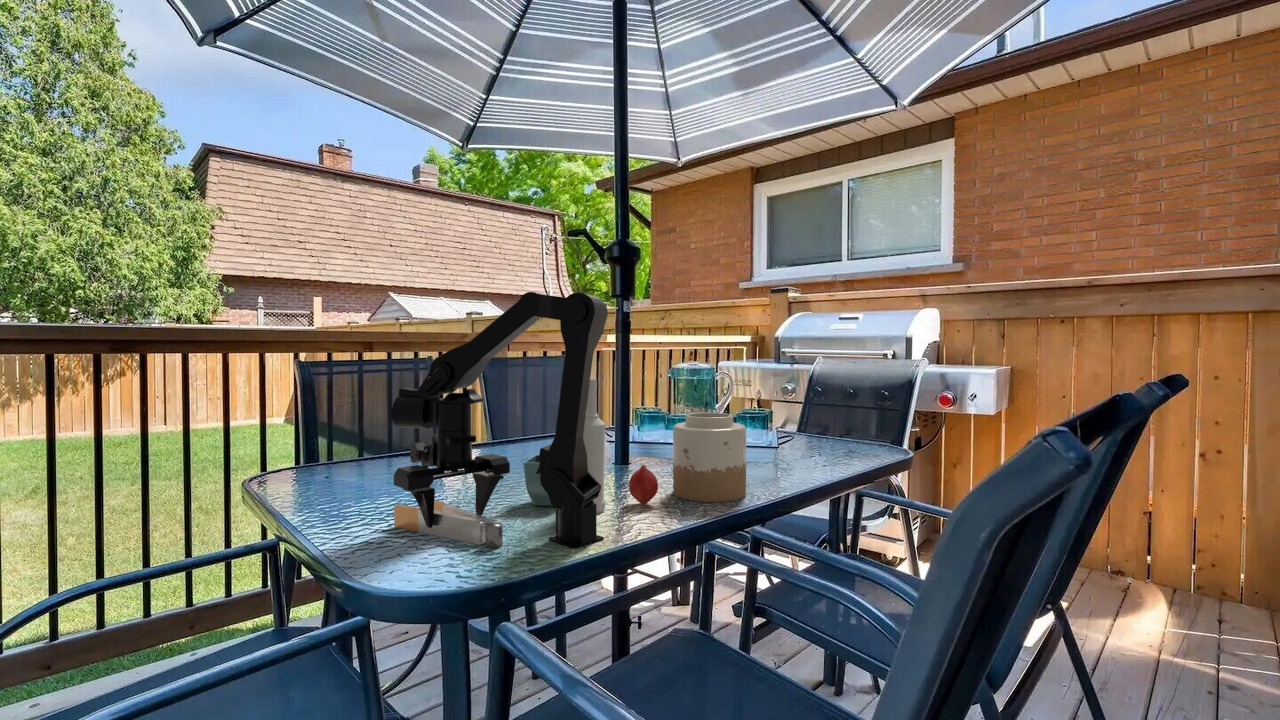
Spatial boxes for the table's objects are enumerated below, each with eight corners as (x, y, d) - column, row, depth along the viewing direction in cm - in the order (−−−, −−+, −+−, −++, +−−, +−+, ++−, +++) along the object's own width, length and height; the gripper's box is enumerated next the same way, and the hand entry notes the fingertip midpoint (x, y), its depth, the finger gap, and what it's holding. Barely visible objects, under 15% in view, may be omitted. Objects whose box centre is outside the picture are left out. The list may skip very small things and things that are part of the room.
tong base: (506, 547, 97) (506, 524, 96) (491, 551, 95) (491, 528, 95) (433, 518, 113) (432, 498, 113) (419, 521, 111) (419, 501, 111)
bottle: (594, 515, 114) (594, 380, 114) (572, 511, 117) (571, 379, 116) (610, 509, 119) (610, 378, 118) (589, 505, 121) (588, 378, 121)
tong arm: (485, 542, 98) (485, 520, 98) (480, 545, 97) (480, 522, 97) (400, 524, 108) (399, 504, 108) (394, 526, 107) (394, 505, 107)
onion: (624, 502, 124) (624, 462, 124) (651, 499, 126) (651, 460, 126) (634, 509, 118) (634, 468, 118) (662, 506, 121) (662, 465, 120)
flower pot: (577, 498, 127) (576, 455, 127) (567, 510, 118) (567, 463, 118) (535, 497, 128) (534, 454, 128) (522, 508, 119) (522, 462, 119)
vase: (708, 482, 142) (708, 409, 141) (761, 495, 130) (761, 415, 130) (658, 492, 132) (658, 414, 132) (710, 507, 120) (710, 421, 120)
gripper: (477, 420, 117) (477, 502, 117) (378, 430, 103) (379, 523, 104) (511, 425, 109) (512, 514, 109) (409, 437, 96) (410, 538, 96)
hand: (455, 521), depth 105 cm, fingers open, 9 cm apart
